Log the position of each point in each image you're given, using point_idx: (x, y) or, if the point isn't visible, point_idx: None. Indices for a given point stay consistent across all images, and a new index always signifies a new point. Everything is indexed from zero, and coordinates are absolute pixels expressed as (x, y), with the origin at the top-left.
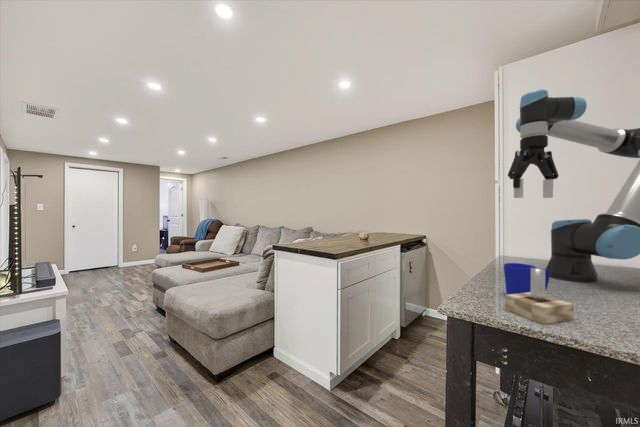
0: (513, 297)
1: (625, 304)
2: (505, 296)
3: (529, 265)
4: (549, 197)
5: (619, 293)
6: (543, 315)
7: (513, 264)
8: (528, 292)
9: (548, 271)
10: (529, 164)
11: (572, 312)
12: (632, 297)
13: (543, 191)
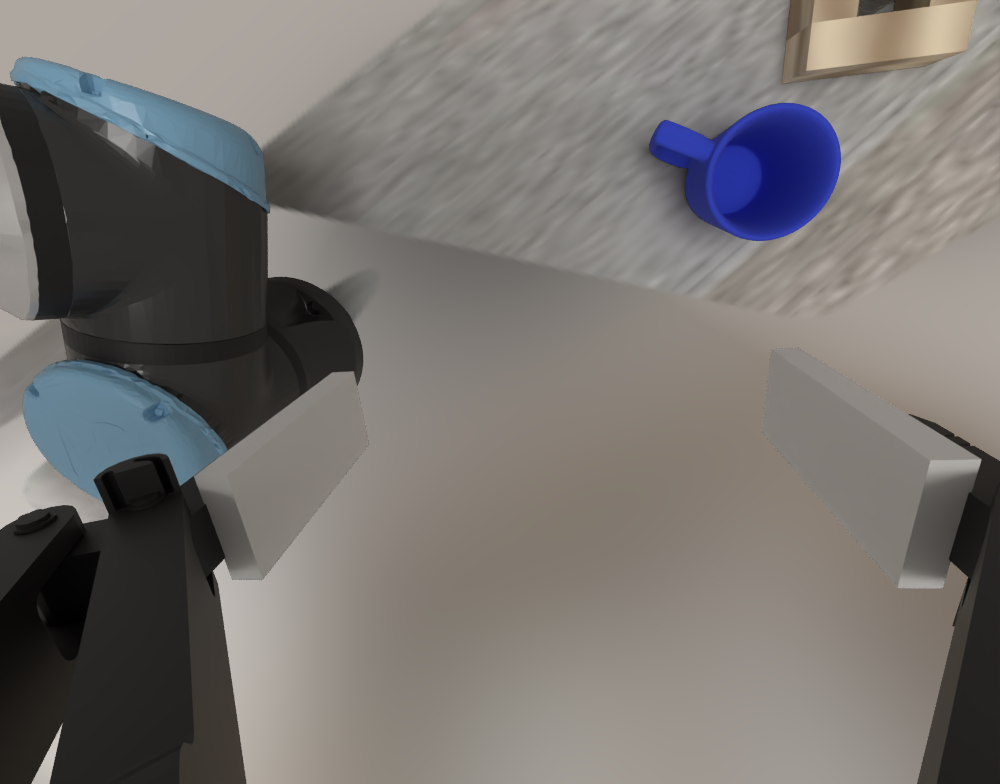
0: (971, 9)
1: (441, 33)
2: (962, 49)
3: (712, 176)
4: (355, 389)
5: (327, 146)
6: None
7: (740, 229)
8: (831, 64)
9: (667, 122)
10: (956, 777)
11: None
12: (333, 97)
13: (341, 475)
